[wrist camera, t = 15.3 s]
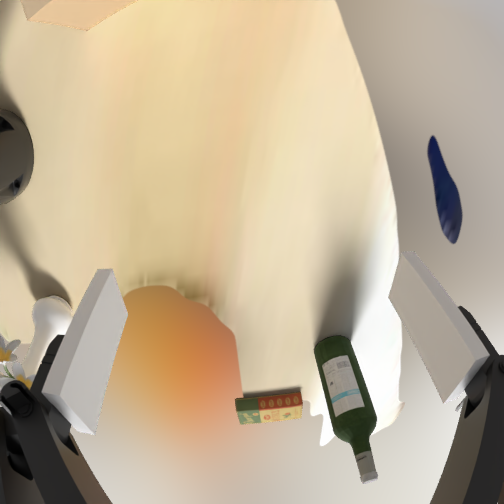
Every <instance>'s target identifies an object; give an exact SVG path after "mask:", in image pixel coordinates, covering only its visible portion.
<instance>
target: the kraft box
mask: <svg viewBox="0 0 504 504" xmlns="http://www.w3.org/2000/svg"><path fill="white" fill-rule="evenodd" d="M136 1H138V0H21V3H22V6H23V9H24V12H25V15H26V18H27V21H35V22H42V23H49V24H55V25H61V26H66V27H72V28H77V29H81V30H86V31H87V30H89V29H90V28H92V27H93V26H95V25H97V24H98V23H100V22H101V21H103V20H104V19H106V18H108V17H109V16H111V15H113V14H114V13H116V12H118V11H120V10H121V9H123V8H125V7H127V6H128V5H130V4H132V3H134V2H136Z"/></svg>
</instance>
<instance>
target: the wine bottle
mask: <svg viewBox="0 0 504 504" xmlns="http://www.w3.org/2000/svg"><path fill="white" fill-rule="evenodd" d="M314 354H315V359H316V362H317V366H318V370H319V374H320V378H321V382H322V386H323V390H324V394H325V398H326V402H327V406H328V410H329V415H330V419H331V423H332V427H333V431H334V434H335V435H336V436H337V437H338V438H340V439H341V440H343V441H345V442H348V443H350V445H351V446H352V448H353V452H354V455H355V458H356V462H357V465H358V469H359V472H360V475H361V477H360V478H361V482H362V483H363V484H366V483H370V482H373V481H375V480H377V477H378V474H377V472H376V469H375V465H374V460H373V456H372V452H371V447H370V443H369V436H370V435H371V433H372V432H373V430H374V429H375V427H376V422H377V416H376V413H375V410H374V407H373V404H372V401H371V398H370V395H369V392H368V389H367V387H366V384H365V381H364V378H363V375H362V372H361V370H360V367H359V364H358V361H357V359H356V356H355V353H354V350H353V348H352V345H351V342H350V341H349V339H347V338H346V337H343V336H332V337H329V338H326V339H324V340H323V341H321V342H320V343H319V344H318V345H317V346H316V348H315V351H314Z"/></svg>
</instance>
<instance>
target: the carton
mask: <svg viewBox="0 0 504 504" xmlns="http://www.w3.org/2000/svg"><path fill="white" fill-rule="evenodd" d="M235 406H236V411H237V414H238V417H239V421H240V424H253V423H265V422H274V421H282V420H291V419H297V418H301V415H302V406H303V402H302V396H301V392H296V393H289V394H281V395H272V396H263V397H253V398H236V399H235Z"/></svg>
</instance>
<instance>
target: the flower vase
mask: <svg viewBox="0 0 504 504" xmlns="http://www.w3.org/2000/svg"><path fill="white" fill-rule="evenodd" d="M32 319H33V323H34V326H35V332H34V337H33V340H32V342H31V345H30V347H29V349H28V352H27V354H26V356H25V358H24V360H23V362H22V364H20V363H19V362H17V361H16V360H17V356H16V355H15V354H13V352H14V351H15V350H16V348H17V347H18V346H19V345H20V343H21V341H20V340H14V341H12V342H10V343H9V344H8V345H7V347H6V348H5V343H4V339H3V338H2V337H1V336H0V364H3V366H4V369H5V371H6V373H7V374H8V375H9V376H10V377H8V376H4V375H3V373H1V372H0V391H1V389H2V388H3V386H4V385H5V384H7V383H8V382H10V381H13V380H20V381H22V382H23V383H24V384H25V385H26V386H27V387H28V388H29V390H30V388H31V386H32V383H33V381H34V378H35V376H36V373H37V371H38V368H39V366H40V363H41V361H42V359H43V357H44V355H45V352H46V350H47V348H48V346H49V344H50V342H51V341H52V340H53V339H54V338H55V337H56V336H57V335H58V334H59V335H65V334H66V331H67V329H68V327H69V325H70V323H71V321H72V319H73V315H72V309H71V307H70V305H69V304H68V303H67V301H65V300H64V299H63V298H61V297H59V296H54V295H53V296H49V297H45V298H41V299H39V300H37V301H36V302H35V304H34V305H33V309H32ZM14 361H16V362H14ZM7 362H14V363H13V366H12V371H13V374H12V375H11V374H10V373H9V371H8V369H7V367H6V363H7Z"/></svg>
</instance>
